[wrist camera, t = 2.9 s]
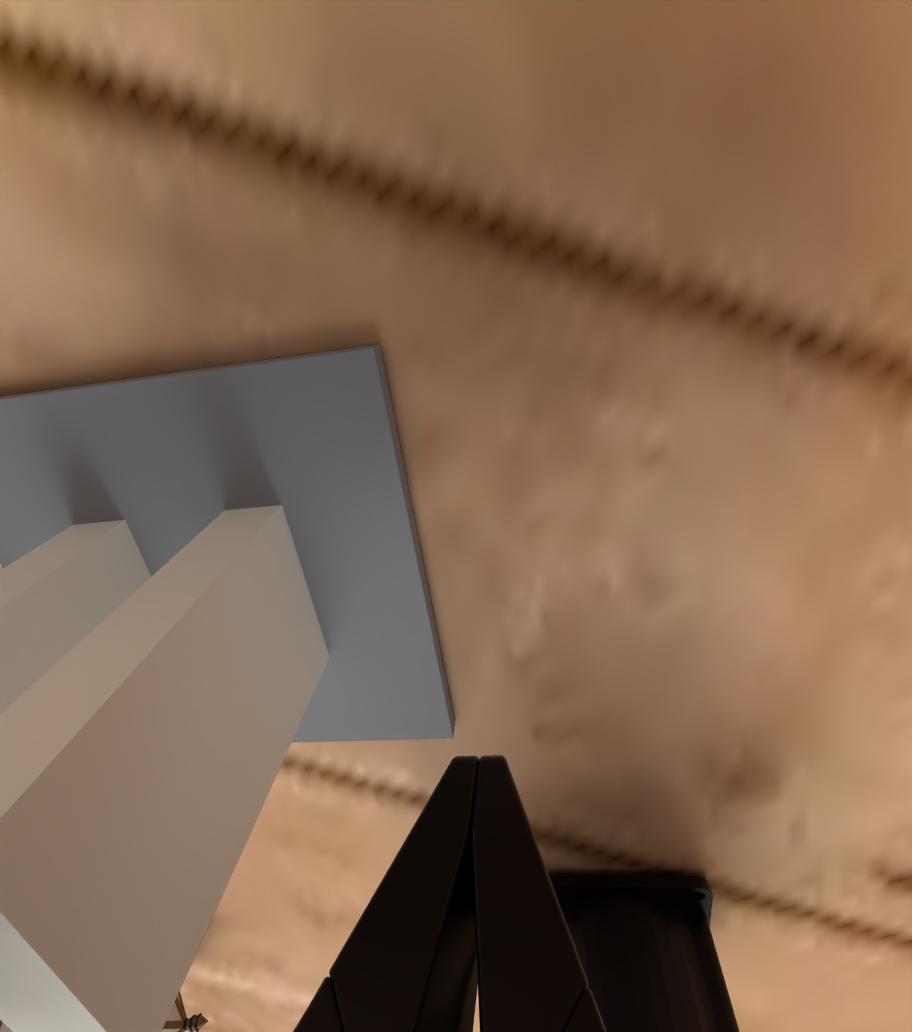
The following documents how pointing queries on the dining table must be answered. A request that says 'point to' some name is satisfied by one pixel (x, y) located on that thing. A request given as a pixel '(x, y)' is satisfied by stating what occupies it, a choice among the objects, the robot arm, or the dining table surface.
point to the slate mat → (248, 484)
